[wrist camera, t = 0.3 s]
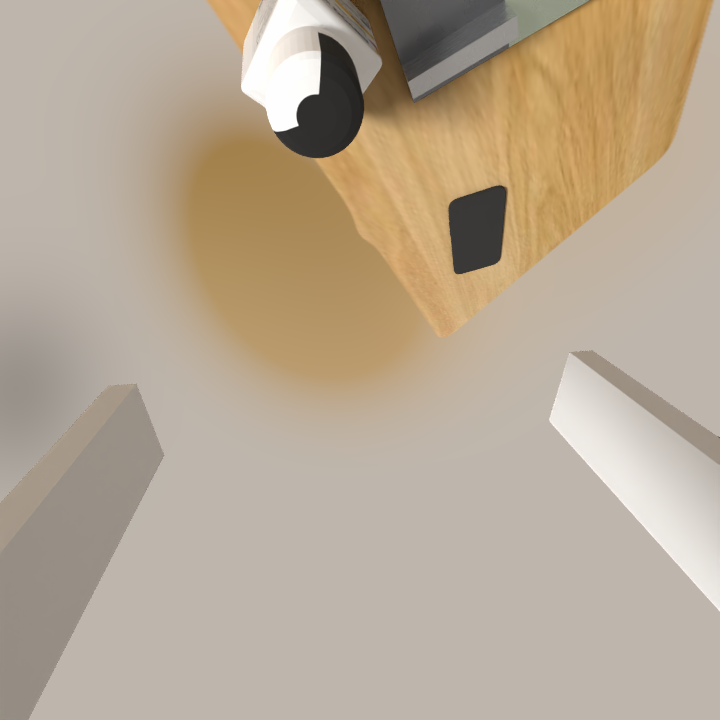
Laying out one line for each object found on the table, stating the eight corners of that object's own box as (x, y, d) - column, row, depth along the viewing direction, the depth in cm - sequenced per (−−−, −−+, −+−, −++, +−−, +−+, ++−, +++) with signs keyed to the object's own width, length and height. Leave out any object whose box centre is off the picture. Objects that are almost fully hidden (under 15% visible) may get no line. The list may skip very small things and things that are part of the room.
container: (370, 20, 30) (398, 102, 24) (319, 104, 35) (331, 190, 29) (287, -66, 25) (295, 7, 19) (242, 45, 30) (236, 132, 24)
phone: (454, 276, 59) (448, 204, 46) (453, 272, 60) (446, 200, 47) (500, 263, 58) (507, 185, 45) (498, 259, 58) (505, 180, 45)
